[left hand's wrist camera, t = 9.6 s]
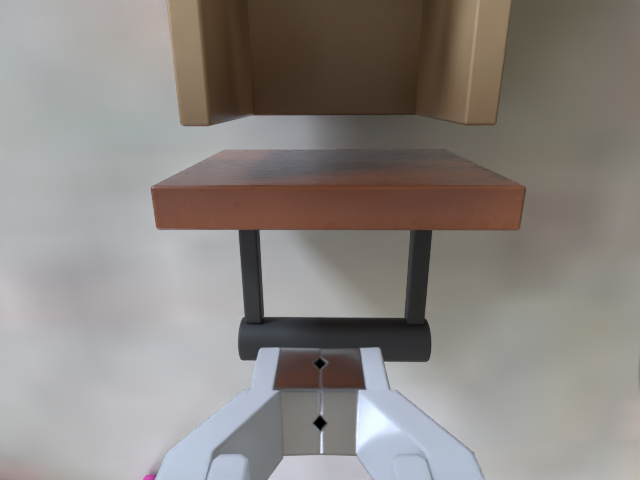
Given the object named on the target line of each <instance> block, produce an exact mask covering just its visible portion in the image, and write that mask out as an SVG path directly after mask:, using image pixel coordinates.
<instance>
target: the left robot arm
mask: <svg viewBox="0 0 640 480" xmlns="http://www.w3.org/2000/svg"><path fill="white" fill-rule="evenodd" d="M296 455H344V456H357V458H358V460H359V461H360V463H361V464H362V465H363V467H364V468H365V469H366V471H367V472H368V474H369V475H370V476H371V478H372V479H373V480H485V478H484V476H483V473H482V471H481V469H480V466H479V464H478V462H477V459H476V457H475V454H474V452H472V451H471V450H470V449H469V448H467V447H466V446H465V445H464V444H462V443H461V442H460V441H459V440H457V439H456V438H455V437H454V436H453V435H451V434H450V433H449V432H448V431H446V430H445V429H444V428H443V427H441V426H440V425H439V424H438V423H436V422H435V421H434V420H433V419H432V418H430V417H429V416H428V415H427V414H425V413H424V412H423V411H422V410H420V409H419V408H418V407H417V406H415V405H414V404H413V403H412V402H411V401H409V400H408V399H407V398H406V397H404V396H403V395H402V394H401V393H399V392H398V391H397V390H390V386H389V381H388V377H387V373H386V369H385V365H384V360H383V356H382V352H381V349H380V348H379V347H371V348H346V349H320V348H279V347H274V348H260V350H259V352H258V356H257V360H256V364H255V369H254V373H253V377H252V381H251V385H250V390H243V391H242V392H241V393H239V394H238V395H237V396H236V397H234V398H233V399H232V400H231V401H229V402H228V403H227V404H226V405H224V406H223V407H222V408H221V409H220V410H218V411H217V412H216V413H215V414H213V415H212V416H211V417H210V418H208V419H207V420H206V421H205V422H203V423H202V424H201V425H200V426H198V427H197V428H196V429H195V430H193V431H192V432H191V433H190V434H188V435H187V436H186V437H185V438H184V439H182V440H181V441H180V442H179V443H177V444H176V445H175V446H174V447H172V448H171V449H170V450H169V451H167V453H166V455H165V457H164V460H163V462H162V464H161V467H160V469H159V471H158V474H157V476H156V478H155V480H267V479H268V478H269V477H270V475H271V474H272V473H273V471H274V470H275V469H276V467H277V466H278V464H279V463H280V462H281V460H282V459H283V456H296Z"/></svg>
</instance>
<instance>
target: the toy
mask: <svg viewBox="0 0 640 480" xmlns="http://www.w3.org/2000/svg"><path fill="white" fill-rule="evenodd" d="M155 478H156V476H155V475H146V476H145V477H144V479H143V480H155Z"/></svg>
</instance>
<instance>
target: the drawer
mask: <svg viewBox="0 0 640 480" xmlns="http://www.w3.org/2000/svg"><path fill="white" fill-rule="evenodd" d="M511 5H512V0H167V7H168V16H169V25H170V34H171V43H172V52H173V61H174V70H175V79H176V89H177V98H178V107H179V116H180V123H181V125H183V126H211V125H215V124H219V123H223V122H227V121H231V120H235V119H239V118H244V117H248V116H252V115H420V116H425V117H429V118H434V119H439V120H444V121H449V122H453V123H458V124H463V125H495V124H496V121H497V114H498V106H499V98H500V90H501V83H502V75H503V67H504V59H505V52H506V44H507V36H508V28H509V20H510V13H511ZM525 192H526V188H525V186H523V185H521V184H519V183H516V182H514V181H512V180H510V179H508V178H506V177H503V176H501V175H499V174H497V173H495V172H493V171H490V170H488V169H486V168H484V167H482V166H479V165H477V164H475V163H473V162H471V161H469V160H466V159H464V158H462V157H460V156H458V155H455V154H453V153H451V152H449V151H447V150H444V149H430V150H223V151H221V152H219V153H217V154H215V155H213V156H211V157H209V158H207V159H205V160H203V161H201V162H199V163H197V164H195V165H193V166H191V167H189V168H187V169H185V170H183V171H181V172H179V173H177V174H175V175H173V176H171V177H170V178H168V179H166V180H164V181H162V182H160V183H158V184H156V185H154V186H152V187H151V193H152V200H153V208H154V215H155V222H156V228H157V229H160V230H239V242H240V256H241V270H242V284H243V298H244V312H245V317H244V318H243V319H242V321H241V323H240V328H239V336H238V350H239V356H240V359H241V360H257V356H258V352H259V350H260V348H274V347H279V348H320V349H346V348H371V347H379V348H380V349H381V352H382V356H383V360H384V362H427V361H428V360H429V358H430V354H431V334H430V328H429V324H428V322H427V320H426V319H425V306H426V295H427V283H428V272H429V260H430V249H431V238H432V230H519V228H520V223H521V217H522V210H523V204H524V198H525ZM259 230H411V231H410V245H409V260H408V274H407V288H406V303H405V318H325V317H264V306H263V288H262V270H261V252H260V233H259Z"/></svg>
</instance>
